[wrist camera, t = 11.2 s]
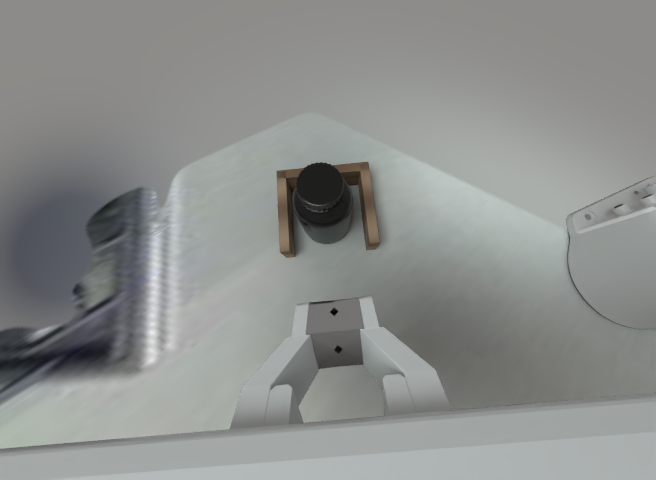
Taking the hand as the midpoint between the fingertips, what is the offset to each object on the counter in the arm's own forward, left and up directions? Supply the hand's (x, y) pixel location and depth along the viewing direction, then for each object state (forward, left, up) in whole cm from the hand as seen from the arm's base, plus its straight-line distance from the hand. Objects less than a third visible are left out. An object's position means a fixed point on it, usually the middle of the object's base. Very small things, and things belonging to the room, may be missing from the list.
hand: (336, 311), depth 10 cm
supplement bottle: (-5, -10, -24) cm, 27 cm away
